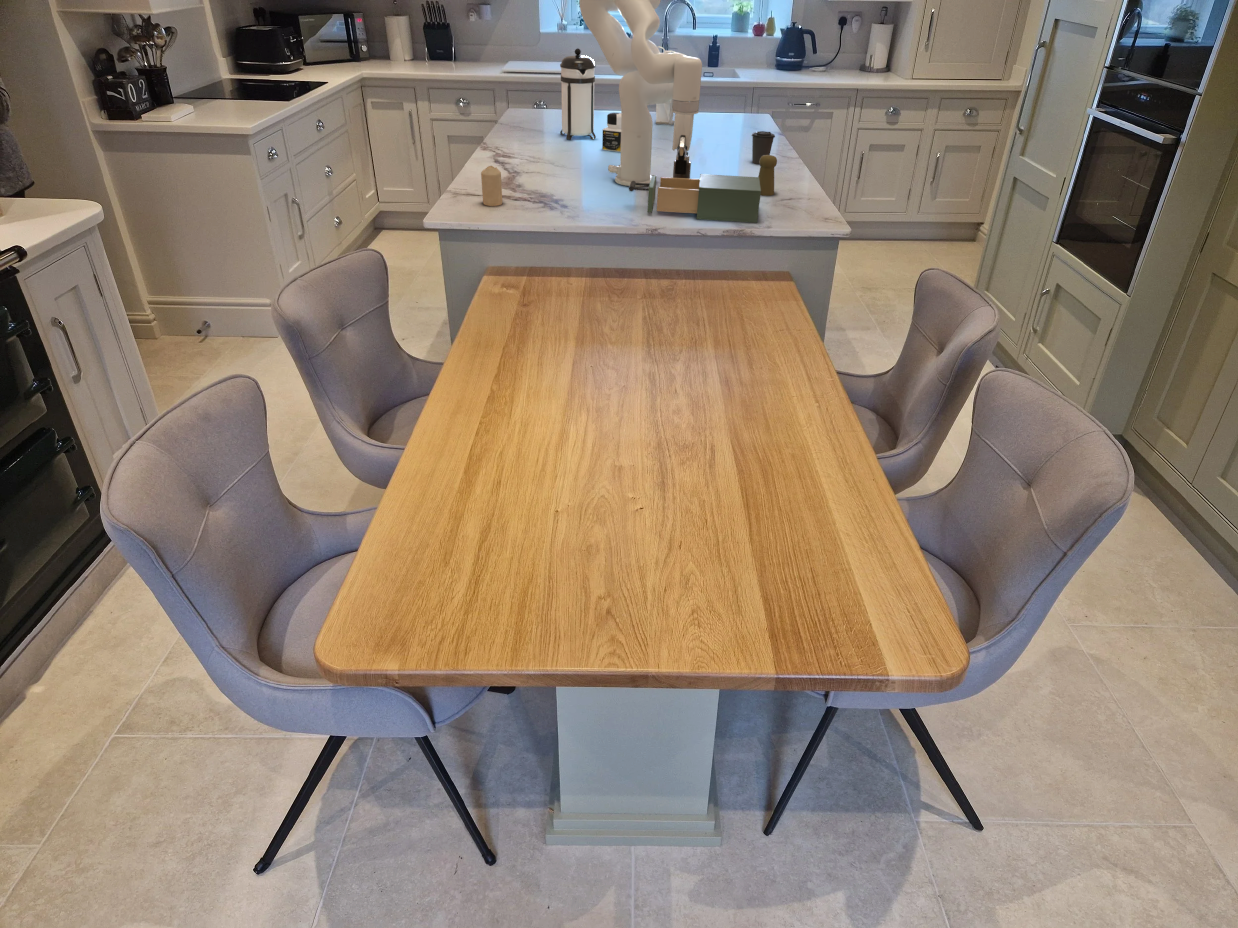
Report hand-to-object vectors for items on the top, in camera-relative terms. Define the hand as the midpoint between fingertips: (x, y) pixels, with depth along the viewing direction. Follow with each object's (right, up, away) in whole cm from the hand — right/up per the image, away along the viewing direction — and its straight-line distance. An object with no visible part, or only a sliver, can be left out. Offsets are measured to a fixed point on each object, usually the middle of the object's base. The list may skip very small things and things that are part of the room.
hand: (681, 170), depth 236 cm
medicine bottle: (-20, +27, +55) cm, 65 cm away
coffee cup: (+31, +18, +44) cm, 57 cm away
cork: (+26, -3, +12) cm, 29 cm away
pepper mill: (0, -7, +4) cm, 8 cm away
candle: (-54, -12, -6) cm, 56 cm away
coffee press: (-34, +39, +71) cm, 88 cm away
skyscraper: (0, +55, +98) cm, 113 cm away
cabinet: (+12, -15, -7) cm, 21 cm away
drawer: (-5, -13, -7) cm, 15 cm away
